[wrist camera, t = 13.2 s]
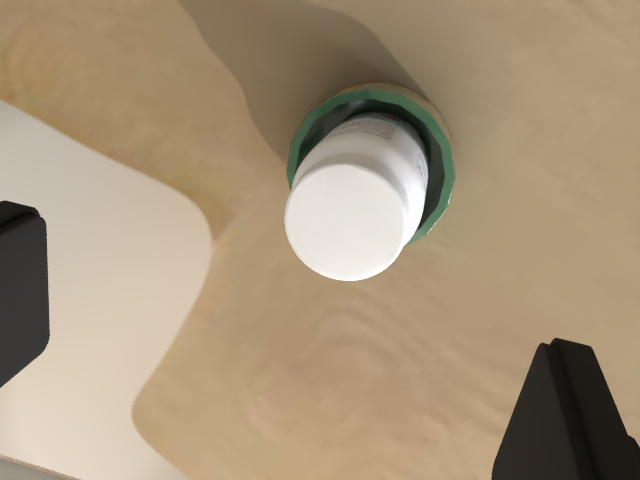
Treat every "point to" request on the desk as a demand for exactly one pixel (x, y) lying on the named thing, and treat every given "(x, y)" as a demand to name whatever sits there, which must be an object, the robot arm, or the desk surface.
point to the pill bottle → (358, 196)
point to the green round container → (402, 105)
